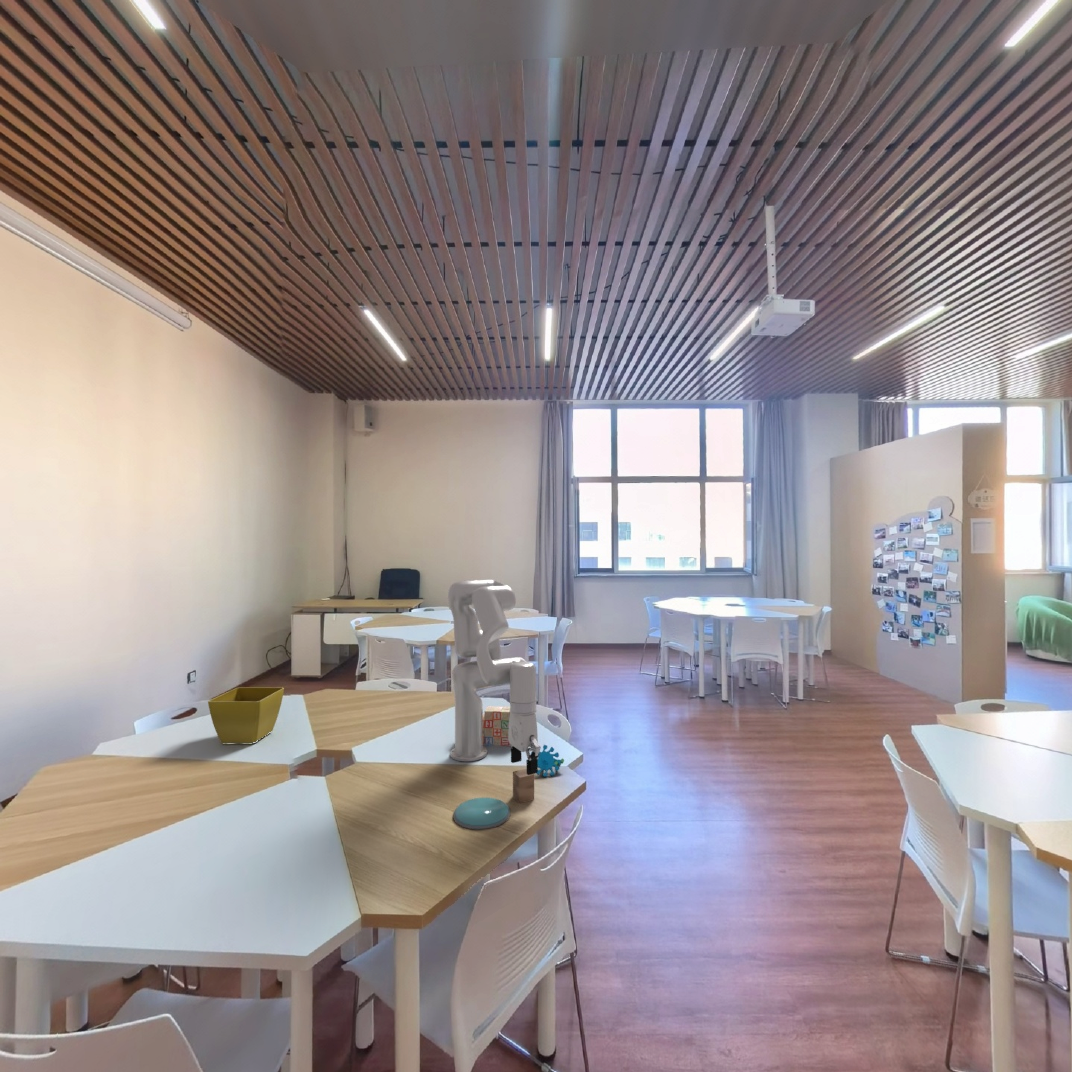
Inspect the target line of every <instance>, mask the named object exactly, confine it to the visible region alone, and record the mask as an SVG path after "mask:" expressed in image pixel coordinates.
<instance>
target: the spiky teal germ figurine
mask: <svg viewBox="0 0 1072 1072" xmlns="http://www.w3.org/2000/svg"><path fill="white" fill-rule="evenodd" d="M540 749H541V746H540ZM547 749H548V745H546V744H543V746H542V751H541V750H540V751H539V756H538V772H537V773H535V774H536V775H537V776H539V775H540V774H541V772H543V771H545V772H543V773H542V777H544V778H547V777H548V771H550V773H549V775H550V777H551V776H552V777H553V776H555V772H558V771H559V770H560V767H561V765H562V764H564V762H565V759H564V758H561V759H556V758H559V757H560V754H559V752H555V753H554V750H555V748H554V747H553V746H551V747H550V749H549V750H547ZM546 750H547V751H546ZM530 752H531V753H530V755H531V754H532V752H533V751H530ZM554 757H555V758H554ZM553 768H554V770H553Z"/></svg>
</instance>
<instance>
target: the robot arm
mask: <svg viewBox="0 0 1072 1072" xmlns="http://www.w3.org/2000/svg"><path fill="white" fill-rule="evenodd" d="M447 593H448V594H447V599H448V604H449V608H450V611H451V614H452V618H453V619H452V621H453V636H454V639H453V640H454V649H455V650H454V651H455V653H456V656H457V657H459V658H461V659H469V658H476V660H472V661H466V662H460V663H459V664H457V665H456V666H455V667H453V669H452V671H451V679H452V680H451V681H452V685H453V693H454V748H452V750H450V753H449V754H450V758H451V759H453V760H456V761H458V762H475V761H478V760H482V759H484V758H485V757H486V756H487V755H488V750H487V748H486V747H485V746H484V745H483V714H484V712H483V710H484V707H483V706H484V705H483V700H482V698H481V697H480V696H479V694H478V693H477V690H481V689H487V688H492V687H498V686H504V685H509V707H510V715H509V729H508V741H509V743H510V746H509V747H510V762H511V763H512V764H514V763H519V762H521V761H522V753H524V752H525V755H526V758H527V759H526V764H525V765H526V769H527V775H531V774H534V775H535V774H536V773H537V772H538V770H539V768H538V756H539V751H540V752H541V748H540V747H541V745H540V744H539V742H538V740H539V739H538V723H537V722H538V721H537V715H536V713H537V669H536V668H537V667H536V665H535V664H534V663H533V662H531V661H526V659H524V658H523V657H520V656H516V657H515V656H513V657H505V658H502V652H501V641H500V638H501V637H502V636H503V635H505V633H507V631H508V630H509V622H508V621H507V617H506V614H505V612H507V611H512V610H513V609H514V608H515V605H516V601H517V599H516V598H517V597H516V594H515V592H514V590H513V588H512V587H510V586H509V585H508V584H505V583H503V582H501V581H498V580H497V579H467V580H459V581H456V582H453V583H452V584H451V585H450V587H449V589H448V592H447ZM471 605H472V606H473V607H472V606H471ZM479 627H480V628H479ZM532 751H533V752H532ZM530 752H532V754H531V753H530Z"/></svg>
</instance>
